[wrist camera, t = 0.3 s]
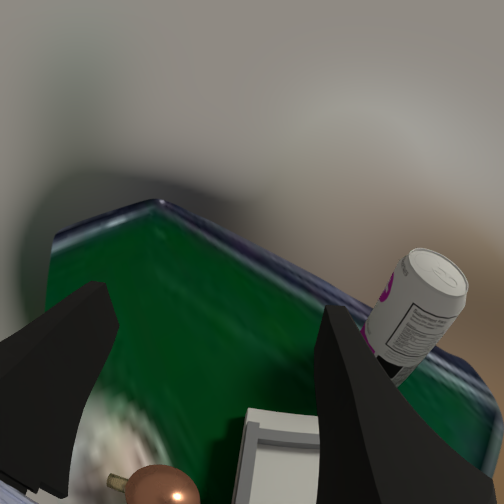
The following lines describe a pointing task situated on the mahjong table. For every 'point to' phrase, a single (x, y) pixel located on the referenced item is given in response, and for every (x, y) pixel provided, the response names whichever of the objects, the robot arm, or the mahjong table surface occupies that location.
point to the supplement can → (414, 311)
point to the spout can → (156, 486)
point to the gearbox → (278, 459)
